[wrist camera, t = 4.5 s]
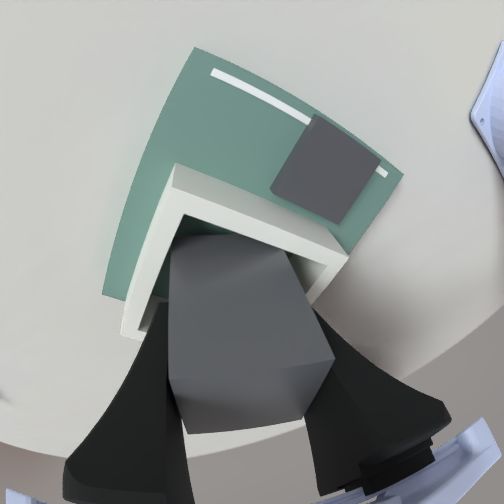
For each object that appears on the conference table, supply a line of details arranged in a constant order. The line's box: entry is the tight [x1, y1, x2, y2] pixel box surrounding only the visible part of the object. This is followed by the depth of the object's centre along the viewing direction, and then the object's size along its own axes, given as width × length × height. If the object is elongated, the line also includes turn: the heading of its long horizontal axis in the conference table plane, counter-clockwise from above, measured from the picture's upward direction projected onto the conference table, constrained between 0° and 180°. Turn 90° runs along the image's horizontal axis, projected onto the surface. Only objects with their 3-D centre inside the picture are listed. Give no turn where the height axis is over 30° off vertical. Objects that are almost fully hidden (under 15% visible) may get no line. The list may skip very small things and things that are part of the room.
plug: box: [168, 234, 335, 434], centre depth 10 cm, size 4×4×6 cm
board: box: [102, 47, 404, 341], centre depth 12 cm, size 11×12×4 cm
